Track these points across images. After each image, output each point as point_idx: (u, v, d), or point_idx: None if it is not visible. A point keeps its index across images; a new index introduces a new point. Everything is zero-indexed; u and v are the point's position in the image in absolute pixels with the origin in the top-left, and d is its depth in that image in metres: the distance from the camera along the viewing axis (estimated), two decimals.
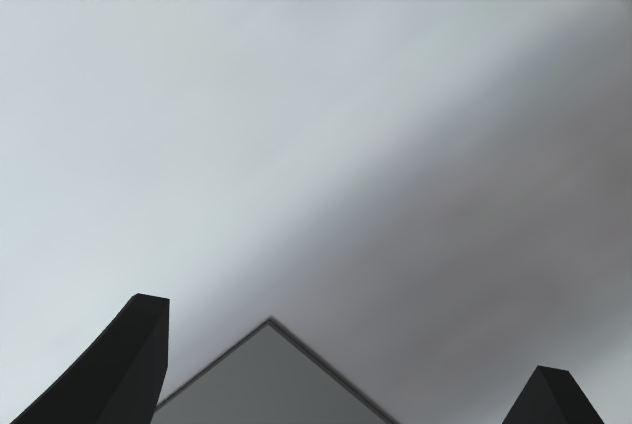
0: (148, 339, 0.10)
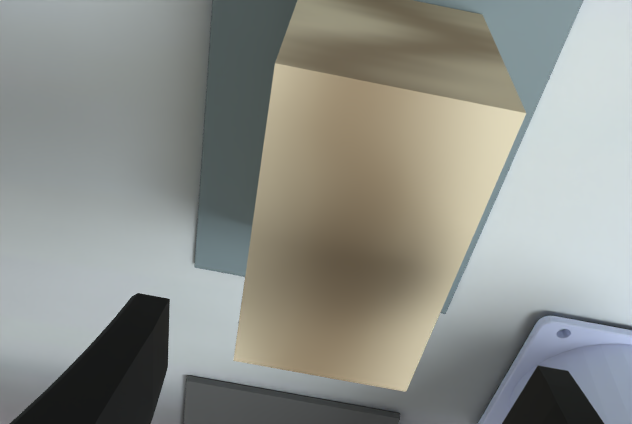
0: (148, 339, 0.10)
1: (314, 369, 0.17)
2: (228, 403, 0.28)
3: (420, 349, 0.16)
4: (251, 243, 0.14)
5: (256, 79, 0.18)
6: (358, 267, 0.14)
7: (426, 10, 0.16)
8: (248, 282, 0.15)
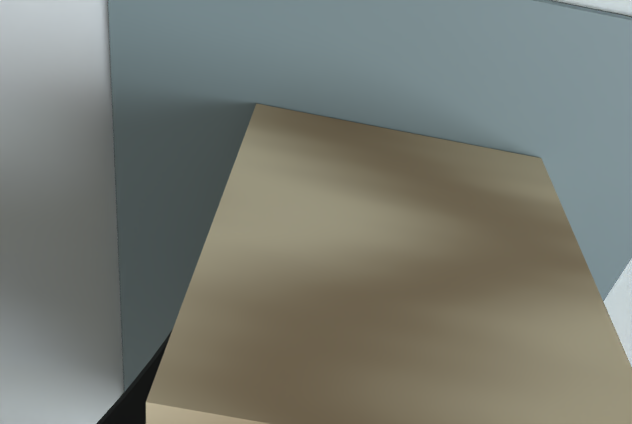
0: None
1: None
2: None
3: None
4: None
5: (191, 236, 0.12)
6: None
7: (453, 162, 0.10)
8: None
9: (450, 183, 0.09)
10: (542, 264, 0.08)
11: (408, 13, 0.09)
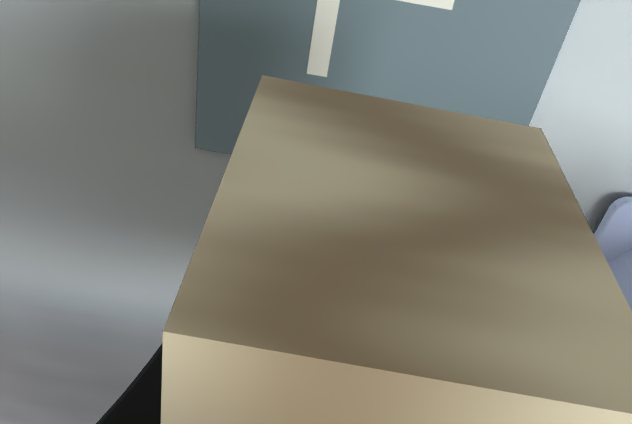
0: None
1: None
2: None
3: None
4: None
5: None
6: None
7: (456, 130, 0.10)
8: None
9: (453, 148, 0.09)
10: (543, 221, 0.08)
11: None
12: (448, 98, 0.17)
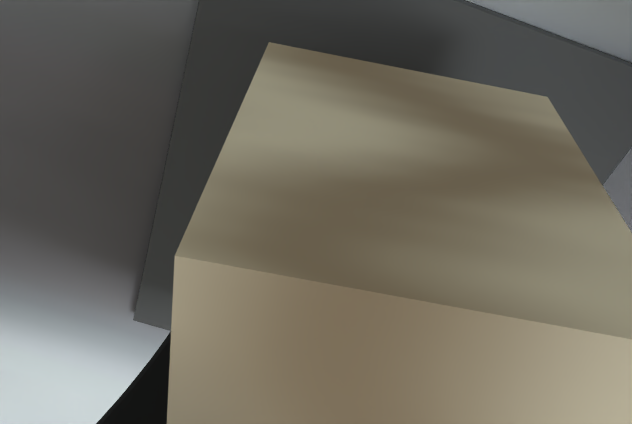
0: None
1: None
2: (302, 6, 0.12)
3: None
4: None
5: None
6: None
7: (462, 96, 0.10)
8: None
9: (460, 110, 0.09)
10: (553, 174, 0.08)
11: None
12: None
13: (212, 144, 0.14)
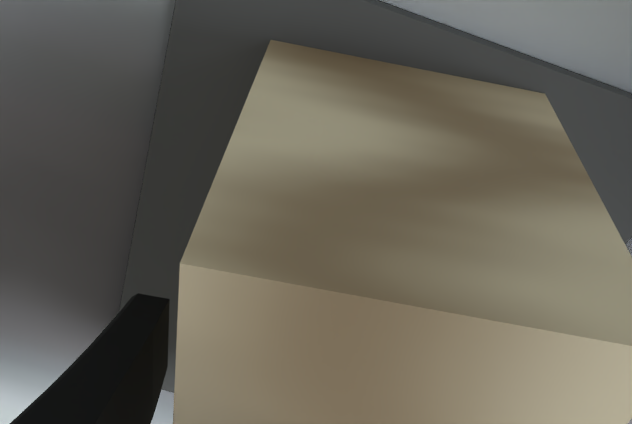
0: (148, 339, 0.10)
1: None
2: None
3: None
4: None
5: None
6: None
7: (460, 94, 0.10)
8: None
9: (458, 109, 0.09)
10: (547, 176, 0.08)
11: None
12: None
13: (188, 192, 0.13)
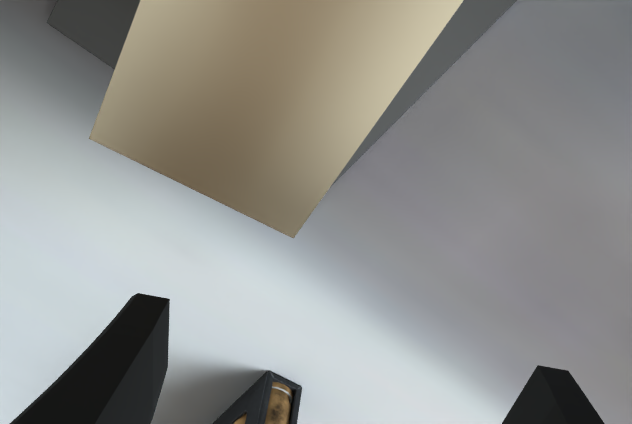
0: (148, 339, 0.10)
1: (190, 178, 0.13)
2: None
3: (329, 180, 0.13)
4: None
5: None
6: (291, 33, 0.11)
7: None
8: (140, 15, 0.11)
9: None
10: None
11: None
12: None
13: None
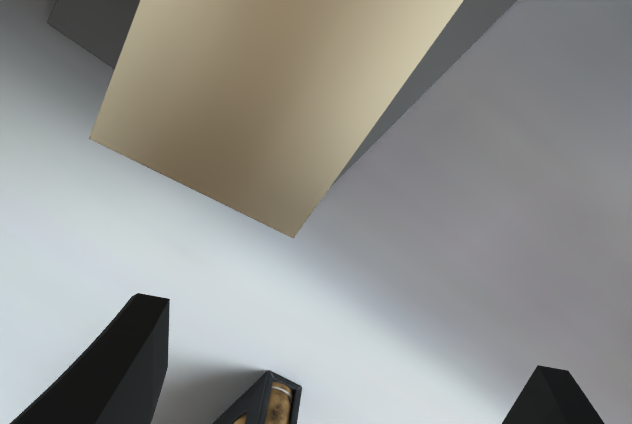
0: (148, 339, 0.10)
1: (190, 178, 0.13)
2: None
3: (329, 180, 0.13)
4: None
5: None
6: (291, 33, 0.11)
7: None
8: (140, 15, 0.11)
9: None
10: None
11: None
12: None
13: None
